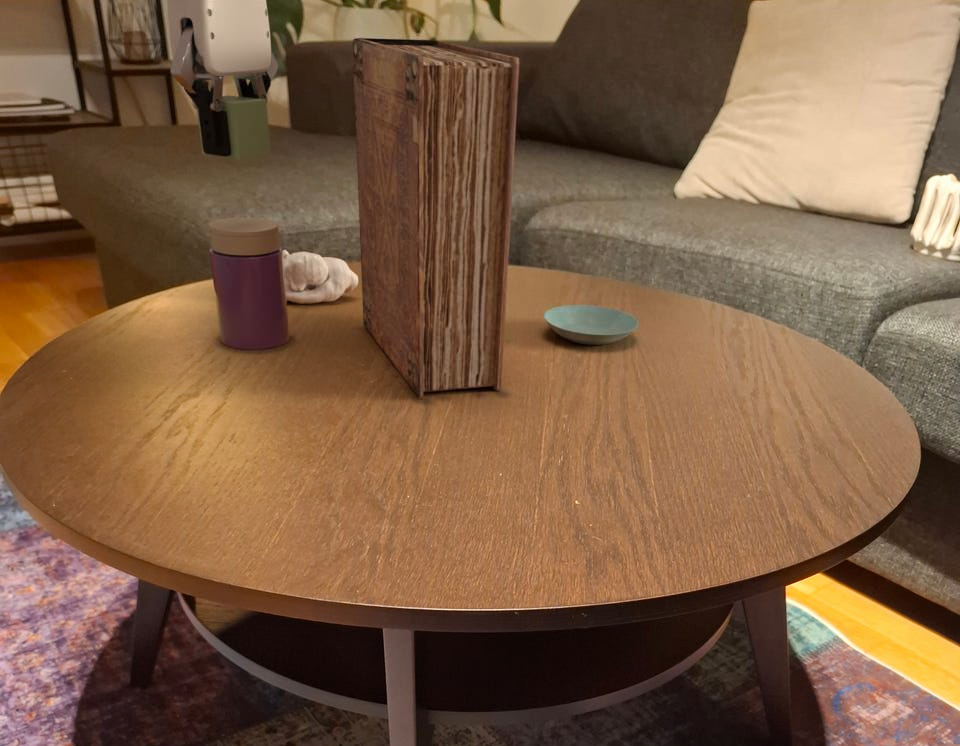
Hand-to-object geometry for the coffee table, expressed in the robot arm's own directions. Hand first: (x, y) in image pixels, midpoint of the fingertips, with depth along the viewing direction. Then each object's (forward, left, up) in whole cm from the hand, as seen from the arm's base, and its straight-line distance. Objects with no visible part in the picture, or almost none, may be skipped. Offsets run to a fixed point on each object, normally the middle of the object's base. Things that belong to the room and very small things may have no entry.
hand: (236, 149), depth 94 cm
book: (+19, +7, -20) cm, 29 cm away
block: (0, 0, 0) cm, 0 cm away
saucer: (+32, +25, -20) cm, 45 cm away
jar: (-1, +1, -20) cm, 20 cm away
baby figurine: (-6, +18, -20) cm, 27 cm away
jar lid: (-1, +1, -8) cm, 8 cm away
